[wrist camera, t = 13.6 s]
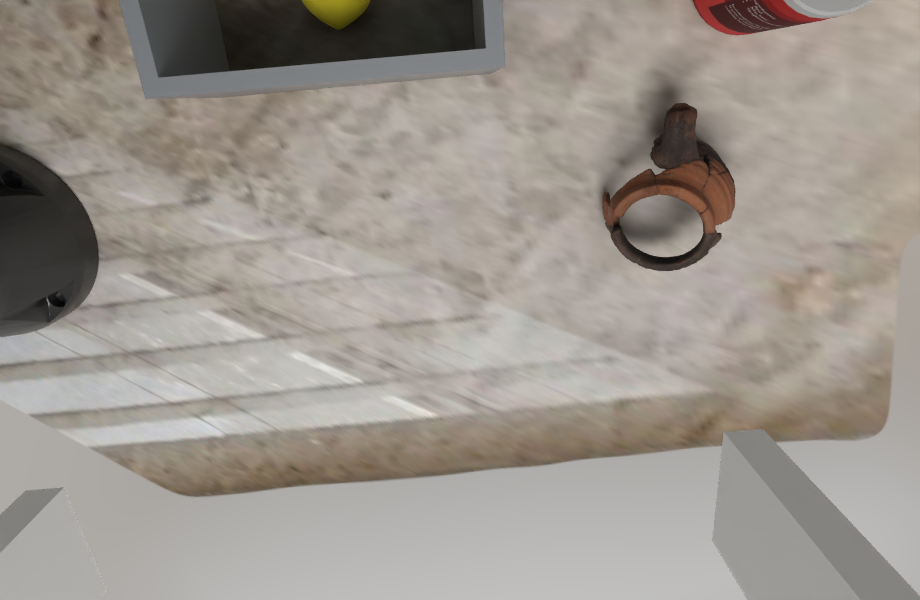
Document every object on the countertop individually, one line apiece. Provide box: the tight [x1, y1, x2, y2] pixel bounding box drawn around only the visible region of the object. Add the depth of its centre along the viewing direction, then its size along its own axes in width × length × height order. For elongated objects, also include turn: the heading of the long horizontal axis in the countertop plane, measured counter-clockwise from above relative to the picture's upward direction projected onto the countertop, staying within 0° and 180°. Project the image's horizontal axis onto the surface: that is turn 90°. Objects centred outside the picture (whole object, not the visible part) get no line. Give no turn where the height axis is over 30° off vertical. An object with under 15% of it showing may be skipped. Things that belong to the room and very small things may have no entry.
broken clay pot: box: [603, 103, 735, 271], centre depth 41 cm, size 12×10×8 cm
